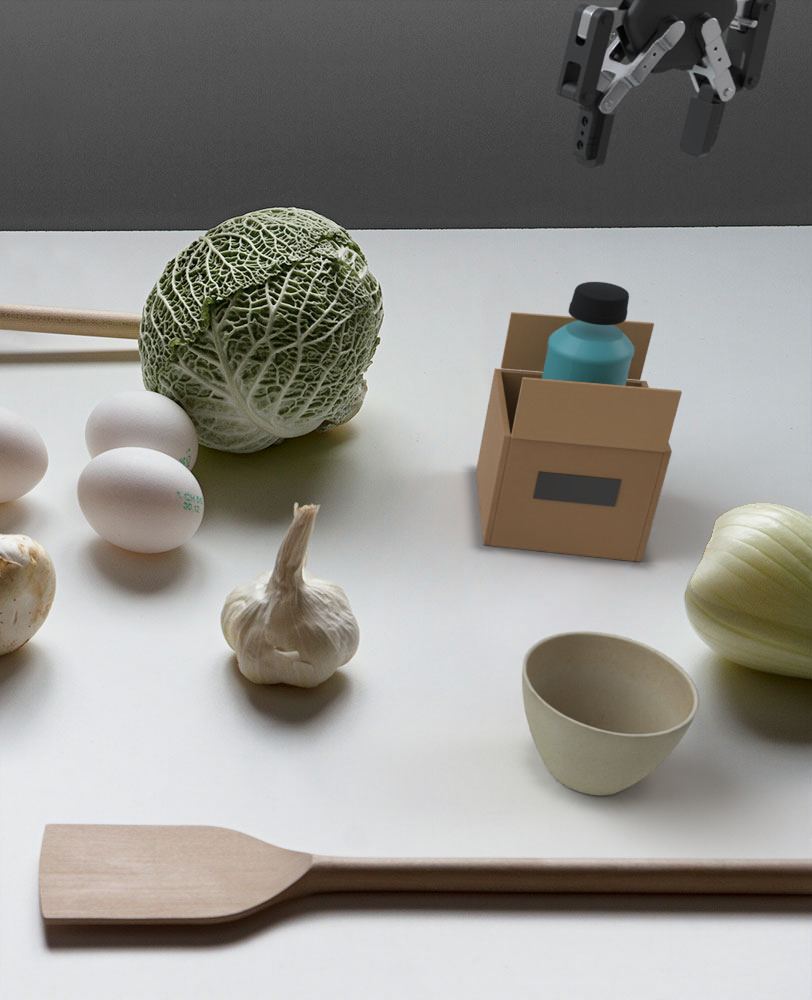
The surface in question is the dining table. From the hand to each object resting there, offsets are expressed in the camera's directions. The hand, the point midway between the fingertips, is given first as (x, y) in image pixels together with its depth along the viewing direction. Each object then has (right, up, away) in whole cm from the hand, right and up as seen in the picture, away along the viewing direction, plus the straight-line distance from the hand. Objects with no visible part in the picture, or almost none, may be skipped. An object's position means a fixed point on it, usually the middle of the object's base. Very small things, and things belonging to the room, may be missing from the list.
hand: (641, 159), depth 89 cm
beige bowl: (-7, -41, -7) cm, 42 cm away
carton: (+1, -25, +18) cm, 31 cm away
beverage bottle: (+1, -25, +18) cm, 31 cm away
